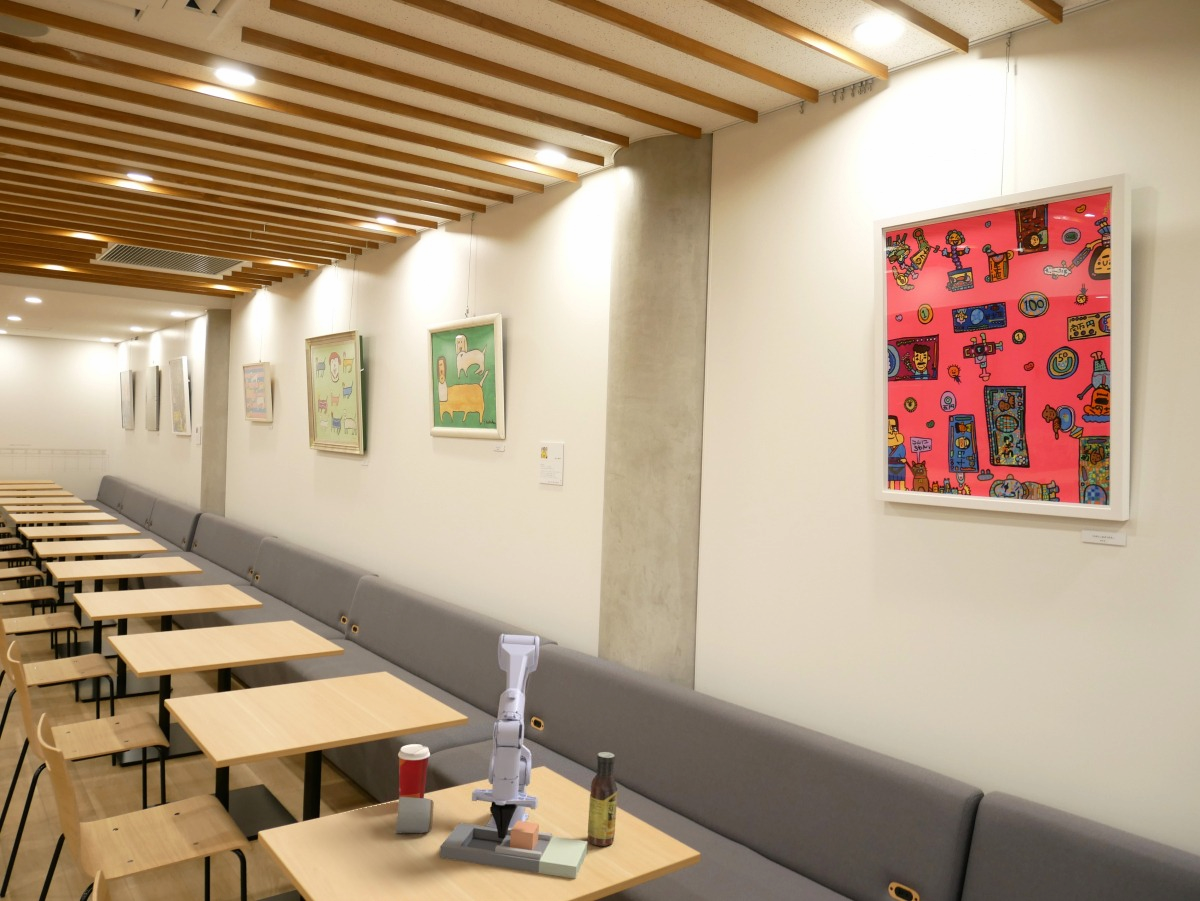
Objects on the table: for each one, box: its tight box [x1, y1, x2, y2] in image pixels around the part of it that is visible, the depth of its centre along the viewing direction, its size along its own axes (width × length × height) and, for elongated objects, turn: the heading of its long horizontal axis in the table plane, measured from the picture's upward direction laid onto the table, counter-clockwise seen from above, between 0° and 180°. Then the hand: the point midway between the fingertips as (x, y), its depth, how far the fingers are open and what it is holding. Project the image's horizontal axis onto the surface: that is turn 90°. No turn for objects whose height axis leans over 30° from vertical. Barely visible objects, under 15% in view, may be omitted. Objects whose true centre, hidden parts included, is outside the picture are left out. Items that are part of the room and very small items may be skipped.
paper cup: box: [397, 743, 431, 799], centre depth 212 cm, size 8×8×14 cm
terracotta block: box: [510, 821, 540, 851], centre depth 190 cm, size 5×5×4 cm
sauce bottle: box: [587, 751, 618, 847], centre depth 200 cm, size 7×6×20 cm
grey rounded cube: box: [395, 797, 435, 834], centre depth 201 cm, size 11×8×8 cm
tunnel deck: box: [439, 822, 588, 879], centre depth 191 cm, size 12×30×4 cm, turn 80°
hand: (502, 836), depth 191 cm, fingers closed
